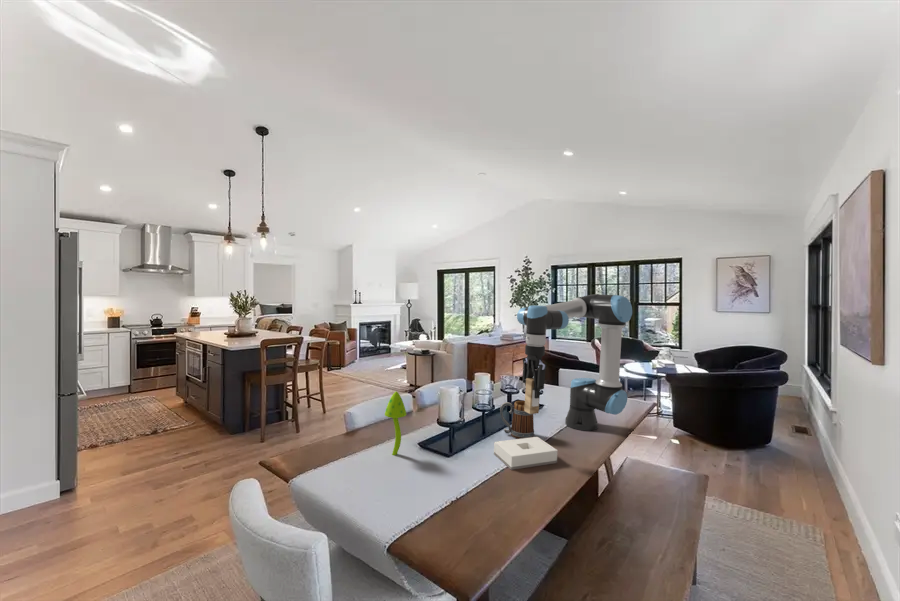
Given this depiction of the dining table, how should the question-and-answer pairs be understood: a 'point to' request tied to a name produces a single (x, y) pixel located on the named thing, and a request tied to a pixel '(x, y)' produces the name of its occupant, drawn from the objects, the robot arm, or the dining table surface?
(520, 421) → the mug
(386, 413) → the mushroom
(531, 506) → the dining table surface
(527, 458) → the block
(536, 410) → the pin
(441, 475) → the dining table surface
